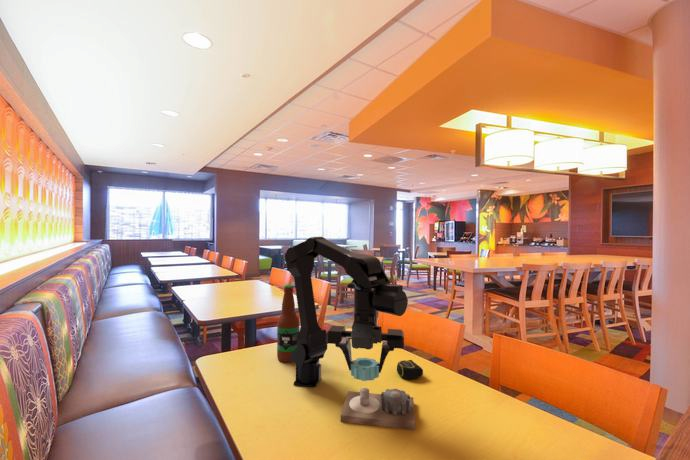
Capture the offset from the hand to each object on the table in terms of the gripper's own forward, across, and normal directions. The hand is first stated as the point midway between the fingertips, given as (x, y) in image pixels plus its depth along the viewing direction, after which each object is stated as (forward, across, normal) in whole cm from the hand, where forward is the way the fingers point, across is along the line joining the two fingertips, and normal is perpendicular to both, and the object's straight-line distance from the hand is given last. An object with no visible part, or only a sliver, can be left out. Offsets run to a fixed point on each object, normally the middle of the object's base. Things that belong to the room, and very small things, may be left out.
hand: (365, 370), depth 79 cm
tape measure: (+10, +12, +21) cm, 26 cm away
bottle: (+10, -29, +26) cm, 40 cm away
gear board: (+10, +4, 0) cm, 10 cm away
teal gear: (+1, 0, 0) cm, 1 cm away
